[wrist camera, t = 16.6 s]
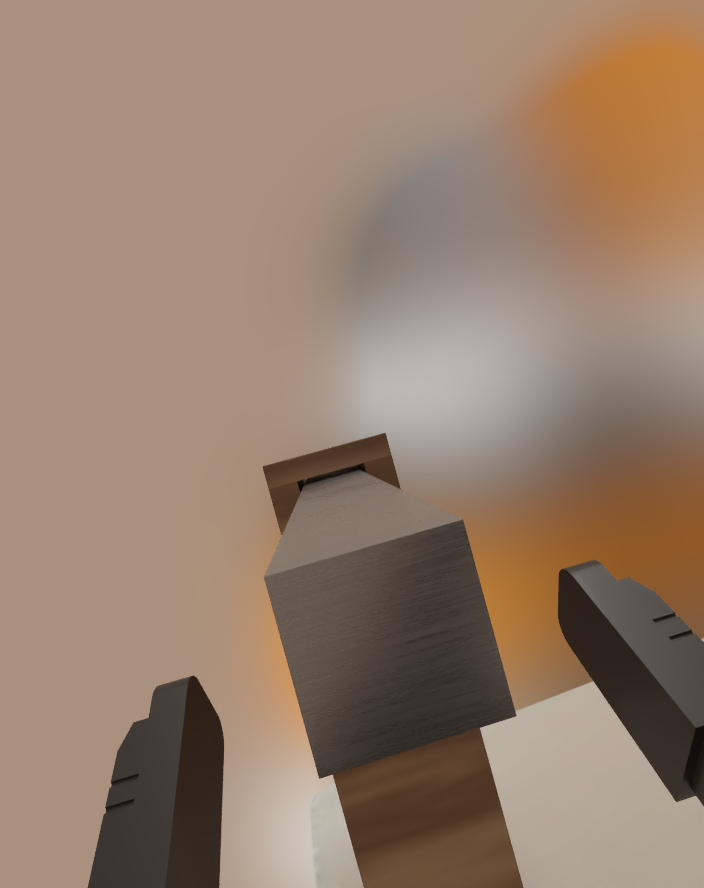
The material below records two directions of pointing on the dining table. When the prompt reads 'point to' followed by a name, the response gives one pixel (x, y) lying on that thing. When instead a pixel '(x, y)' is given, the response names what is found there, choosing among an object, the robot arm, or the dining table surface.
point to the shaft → (382, 622)
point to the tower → (411, 757)
